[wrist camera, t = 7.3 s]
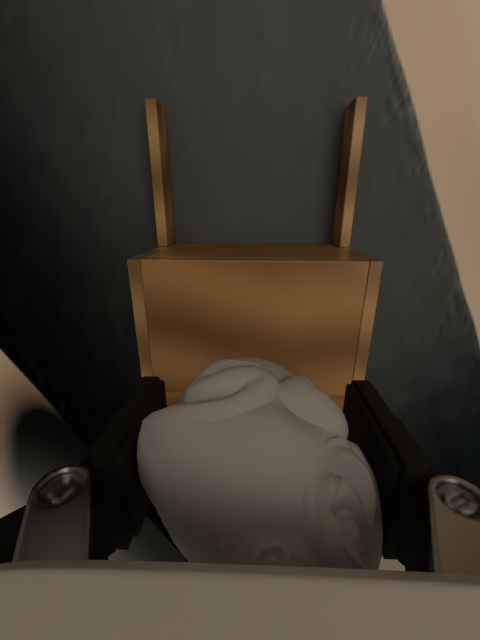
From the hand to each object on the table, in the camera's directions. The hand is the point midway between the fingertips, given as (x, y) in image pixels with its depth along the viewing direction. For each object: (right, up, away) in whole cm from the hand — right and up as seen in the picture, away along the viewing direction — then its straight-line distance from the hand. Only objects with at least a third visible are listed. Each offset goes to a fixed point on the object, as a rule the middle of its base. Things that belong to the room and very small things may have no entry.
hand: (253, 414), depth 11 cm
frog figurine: (0, +1, +1) cm, 1 cm away
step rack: (+1, +10, +15) cm, 18 cm away
